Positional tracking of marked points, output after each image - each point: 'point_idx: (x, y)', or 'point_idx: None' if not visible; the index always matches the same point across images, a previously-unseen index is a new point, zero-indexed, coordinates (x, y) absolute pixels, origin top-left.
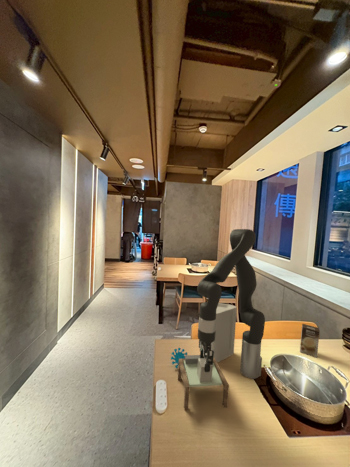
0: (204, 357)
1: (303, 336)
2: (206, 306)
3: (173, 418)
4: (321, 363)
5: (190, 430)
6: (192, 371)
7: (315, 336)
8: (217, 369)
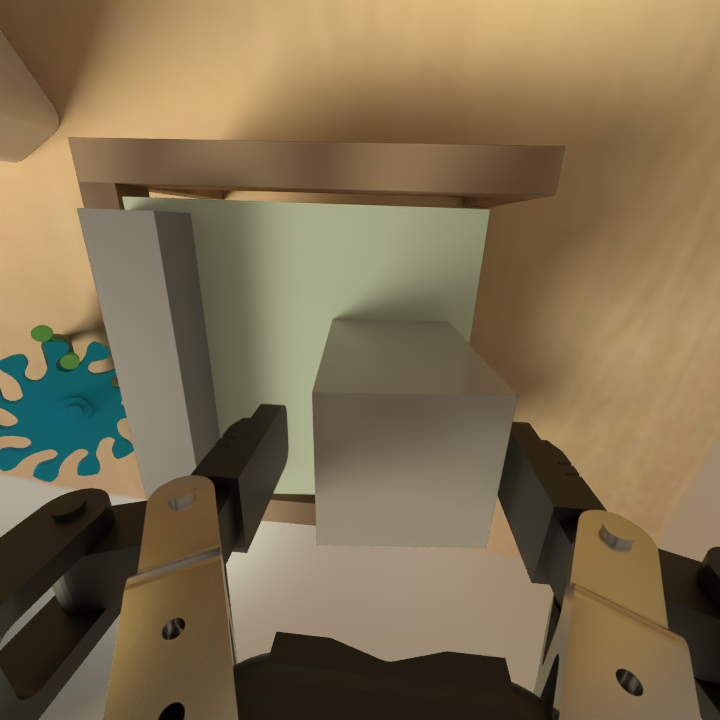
0: (270, 434)
1: None
2: None
3: None
4: None
5: (566, 439)
6: (313, 450)
7: None
8: (295, 187)
